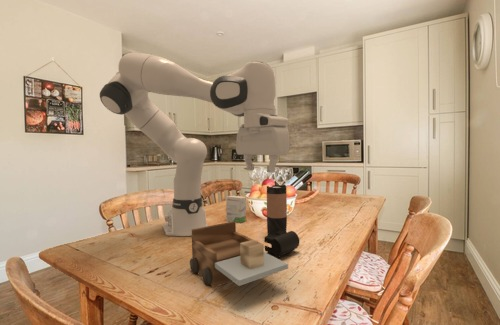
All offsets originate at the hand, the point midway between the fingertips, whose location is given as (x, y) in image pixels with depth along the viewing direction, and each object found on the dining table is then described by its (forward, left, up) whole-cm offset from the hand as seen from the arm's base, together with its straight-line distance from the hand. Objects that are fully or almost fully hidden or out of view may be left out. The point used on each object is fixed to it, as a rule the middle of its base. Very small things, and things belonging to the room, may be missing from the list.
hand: (260, 171), depth 76 cm
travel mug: (-18, +21, -28) cm, 39 cm away
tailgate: (+2, -9, -21) cm, 23 cm away
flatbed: (-5, -9, -28) cm, 30 cm away
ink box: (-49, +22, -28) cm, 60 cm away
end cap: (-5, +12, -28) cm, 31 cm away
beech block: (+8, -9, -21) cm, 25 cm away
